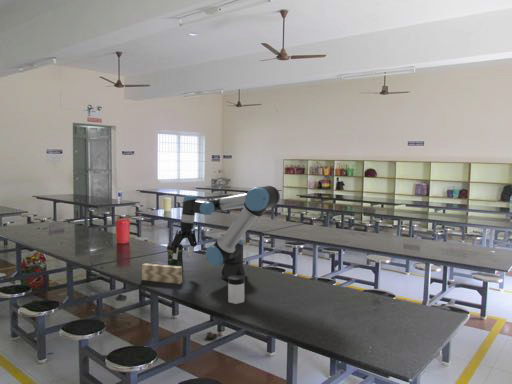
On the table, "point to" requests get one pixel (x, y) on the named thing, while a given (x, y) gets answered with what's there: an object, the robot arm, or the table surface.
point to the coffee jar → (179, 258)
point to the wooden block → (162, 273)
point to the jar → (236, 289)
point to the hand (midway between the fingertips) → (182, 258)
